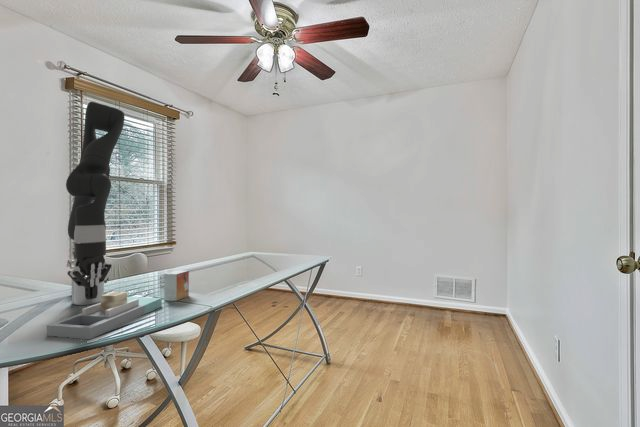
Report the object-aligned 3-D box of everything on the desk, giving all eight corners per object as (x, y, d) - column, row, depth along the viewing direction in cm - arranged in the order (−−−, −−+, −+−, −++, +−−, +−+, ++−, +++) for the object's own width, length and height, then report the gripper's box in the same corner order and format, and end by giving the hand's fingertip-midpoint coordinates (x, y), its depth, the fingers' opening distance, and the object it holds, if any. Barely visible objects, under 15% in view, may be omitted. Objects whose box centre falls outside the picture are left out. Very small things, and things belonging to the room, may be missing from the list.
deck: (46, 335, 85) (46, 318, 85) (127, 304, 114) (127, 291, 114) (90, 339, 83) (90, 321, 83) (161, 306, 112) (161, 292, 112)
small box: (176, 301, 118) (176, 274, 118) (163, 300, 119) (163, 273, 119) (189, 295, 126) (189, 270, 125) (177, 295, 127) (177, 269, 127)
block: (101, 311, 97) (100, 295, 97) (113, 306, 102) (113, 291, 102) (114, 311, 97) (114, 296, 97) (127, 306, 102) (127, 291, 101)
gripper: (98, 238, 98) (99, 292, 98) (57, 242, 85) (58, 305, 85) (119, 238, 97) (120, 293, 97) (81, 242, 84) (82, 305, 84)
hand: (91, 298), depth 91 cm, fingers closed
